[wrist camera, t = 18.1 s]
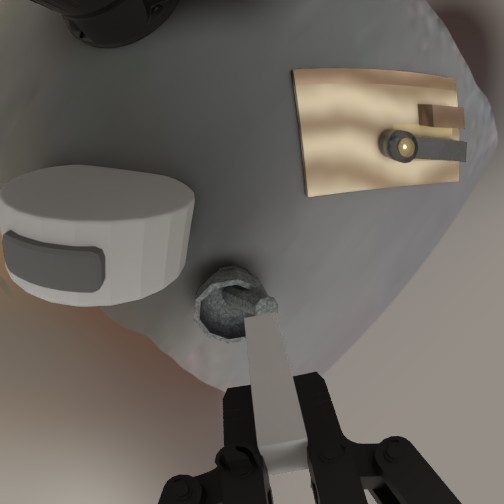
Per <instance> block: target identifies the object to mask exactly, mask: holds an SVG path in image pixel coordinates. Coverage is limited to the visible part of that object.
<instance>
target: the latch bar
mask: <svg viewBox="0 0 504 504" xmlns="http://www.w3.org/2000/svg"><path fill="white" fill-rule="evenodd" d="M378 145H379V149H380V151H381V153H382V154H383V155H384V156H385V157H387V158H390V159H393V160H396V161H398V162H401V163H409V162H411V161H412V160H413V159H431V160H446V161H460V162H466V149H467V142H463V141H459V140H454V139H448V138H440V137H431V136H420V135H413V134H412V133H410V132H408V131H403V130H396V129H387V130H385V131H383V132H382V134H381V135H380V137H379V141H378Z"/></svg>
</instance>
